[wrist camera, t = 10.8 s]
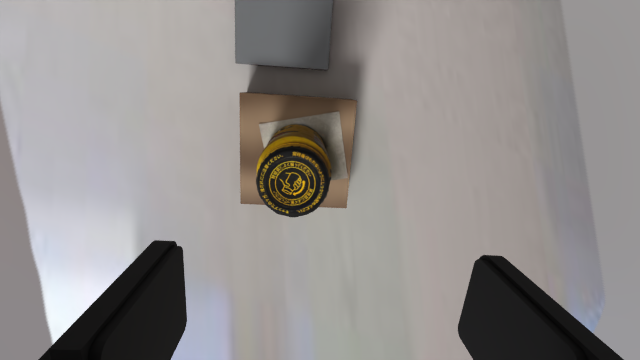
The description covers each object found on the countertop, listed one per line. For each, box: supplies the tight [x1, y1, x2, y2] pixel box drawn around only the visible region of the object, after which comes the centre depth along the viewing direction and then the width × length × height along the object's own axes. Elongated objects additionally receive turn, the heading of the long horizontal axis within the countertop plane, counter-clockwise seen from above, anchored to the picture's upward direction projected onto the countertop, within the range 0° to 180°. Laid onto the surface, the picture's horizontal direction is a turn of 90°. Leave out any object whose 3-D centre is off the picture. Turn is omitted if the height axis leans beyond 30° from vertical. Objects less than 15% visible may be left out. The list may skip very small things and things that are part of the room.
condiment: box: [256, 111, 348, 217], centre depth 27 cm, size 7×8×12 cm
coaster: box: [235, 0, 333, 70], centre depth 32 cm, size 10×10×1 cm
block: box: [240, 92, 357, 208], centre depth 35 cm, size 12×12×4 cm
